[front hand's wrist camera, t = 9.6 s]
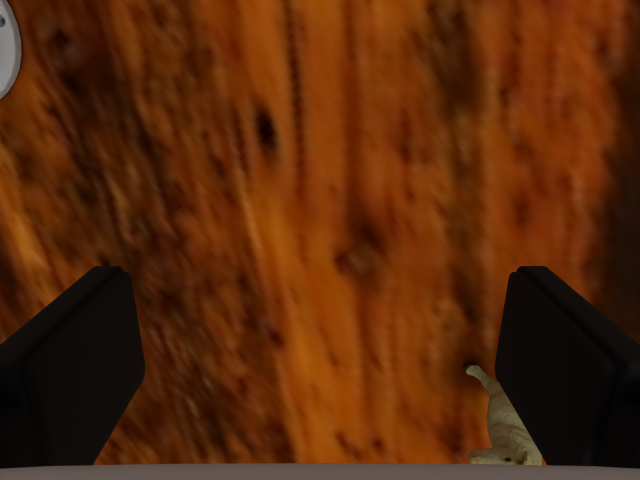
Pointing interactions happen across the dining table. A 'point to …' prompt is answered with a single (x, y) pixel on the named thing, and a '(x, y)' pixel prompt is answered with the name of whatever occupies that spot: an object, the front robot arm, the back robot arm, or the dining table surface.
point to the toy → (503, 429)
